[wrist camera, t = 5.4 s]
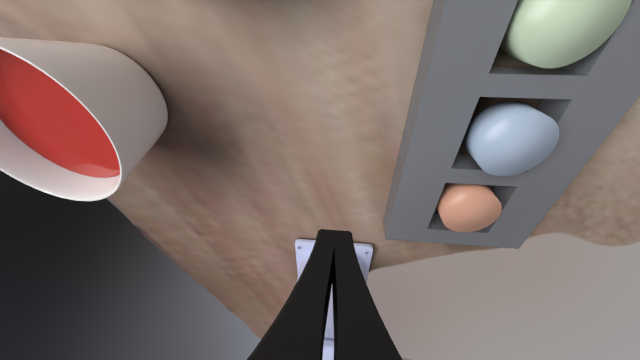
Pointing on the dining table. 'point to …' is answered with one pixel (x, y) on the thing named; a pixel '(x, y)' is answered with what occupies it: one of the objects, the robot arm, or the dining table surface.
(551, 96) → the button panel
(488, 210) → the terracotta button
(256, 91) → the dining table surface
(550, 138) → the blue button
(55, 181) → the candle
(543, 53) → the green button
